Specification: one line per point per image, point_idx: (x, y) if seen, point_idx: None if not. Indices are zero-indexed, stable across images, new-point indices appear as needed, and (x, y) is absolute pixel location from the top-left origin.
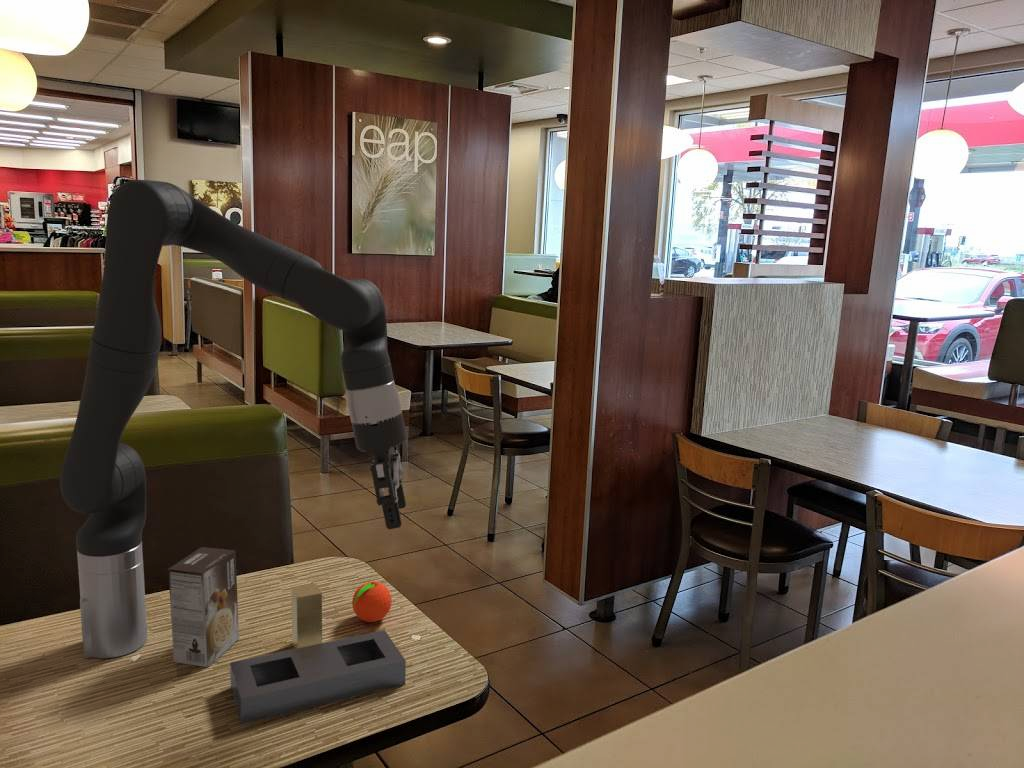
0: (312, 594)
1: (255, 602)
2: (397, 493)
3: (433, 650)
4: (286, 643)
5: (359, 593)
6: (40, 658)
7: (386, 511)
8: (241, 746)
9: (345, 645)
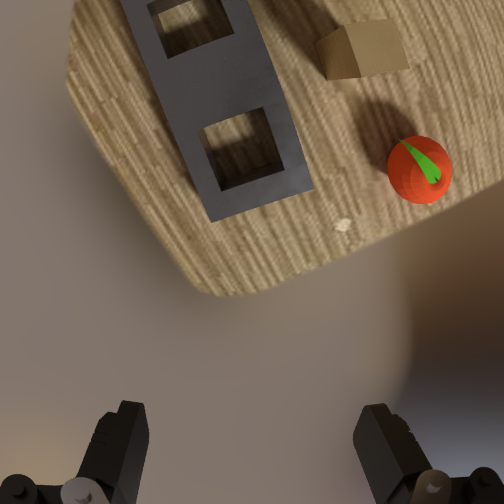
0: (357, 57)
1: (465, 3)
2: (376, 471)
3: (301, 247)
4: None
5: (416, 153)
6: None
7: (85, 464)
8: (91, 20)
9: (268, 121)
